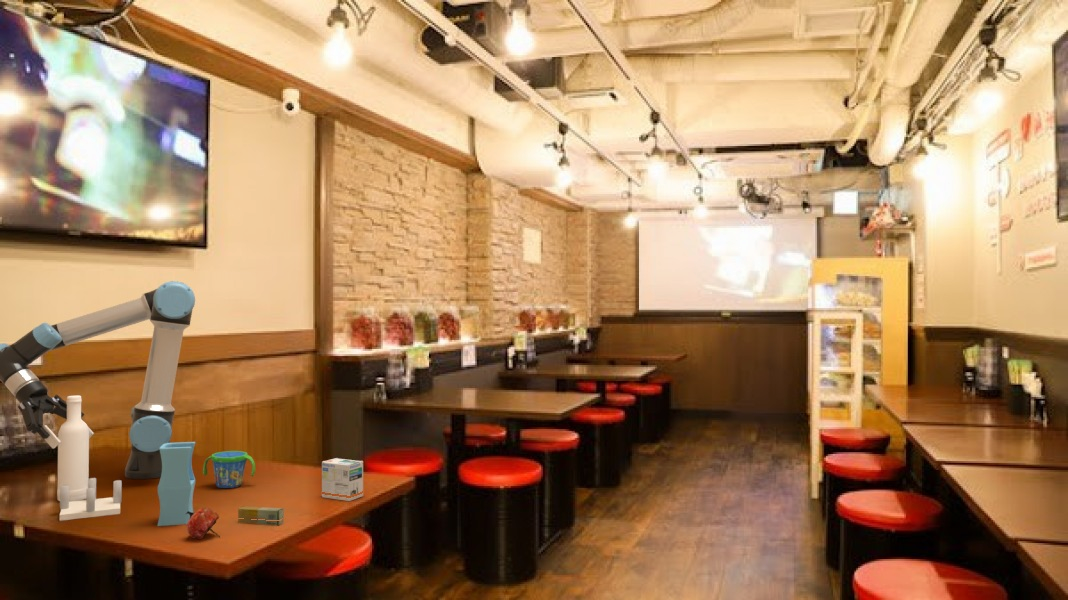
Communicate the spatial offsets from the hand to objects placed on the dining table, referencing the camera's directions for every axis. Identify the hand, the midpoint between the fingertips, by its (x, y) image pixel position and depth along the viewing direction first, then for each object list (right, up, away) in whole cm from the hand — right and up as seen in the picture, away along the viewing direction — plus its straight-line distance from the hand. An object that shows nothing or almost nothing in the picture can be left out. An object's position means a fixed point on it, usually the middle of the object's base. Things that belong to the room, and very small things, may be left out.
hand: (74, 440), depth 219 cm
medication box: (+62, -18, -22) cm, 68 cm away
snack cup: (+39, -18, +16) cm, 45 cm away
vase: (+40, -17, -21) cm, 48 cm away
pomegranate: (+53, -18, -34) cm, 65 cm away
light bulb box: (+77, -18, +5) cm, 79 cm away
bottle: (-1, -17, 0) cm, 17 cm away
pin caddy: (+12, -17, -12) cm, 24 cm away
